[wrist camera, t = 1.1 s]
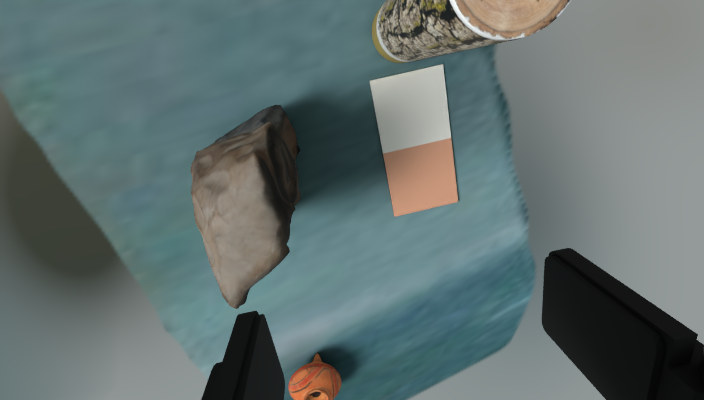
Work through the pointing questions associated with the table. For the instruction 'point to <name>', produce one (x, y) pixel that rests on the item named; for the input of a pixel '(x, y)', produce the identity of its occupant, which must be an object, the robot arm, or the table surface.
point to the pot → (315, 381)
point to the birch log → (456, 25)
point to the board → (416, 139)
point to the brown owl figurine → (247, 200)
